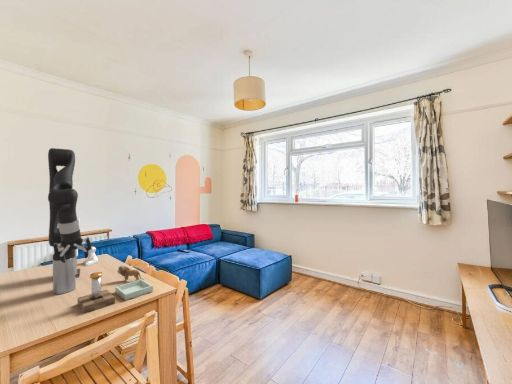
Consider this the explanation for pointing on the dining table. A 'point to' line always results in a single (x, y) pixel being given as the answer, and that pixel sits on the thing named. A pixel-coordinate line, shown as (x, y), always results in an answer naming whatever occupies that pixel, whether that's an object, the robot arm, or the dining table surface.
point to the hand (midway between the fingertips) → (75, 259)
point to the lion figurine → (128, 273)
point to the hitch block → (95, 301)
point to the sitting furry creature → (91, 257)
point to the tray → (133, 289)
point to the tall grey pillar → (77, 271)
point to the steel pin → (96, 285)
